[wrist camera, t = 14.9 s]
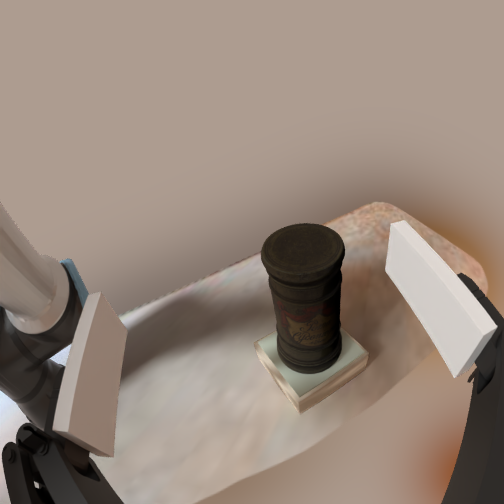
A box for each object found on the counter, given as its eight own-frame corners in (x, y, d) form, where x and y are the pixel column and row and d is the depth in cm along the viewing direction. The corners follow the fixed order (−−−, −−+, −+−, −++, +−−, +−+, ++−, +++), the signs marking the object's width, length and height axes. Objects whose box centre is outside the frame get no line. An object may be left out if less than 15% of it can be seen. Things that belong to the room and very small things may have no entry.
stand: (258, 358, 45) (253, 341, 42) (319, 323, 48) (318, 303, 45) (300, 414, 36) (298, 401, 33) (365, 369, 39) (369, 351, 36)
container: (268, 338, 42) (244, 237, 31) (322, 315, 43) (318, 212, 33) (293, 386, 35) (278, 290, 24) (353, 357, 36) (366, 253, 26)
